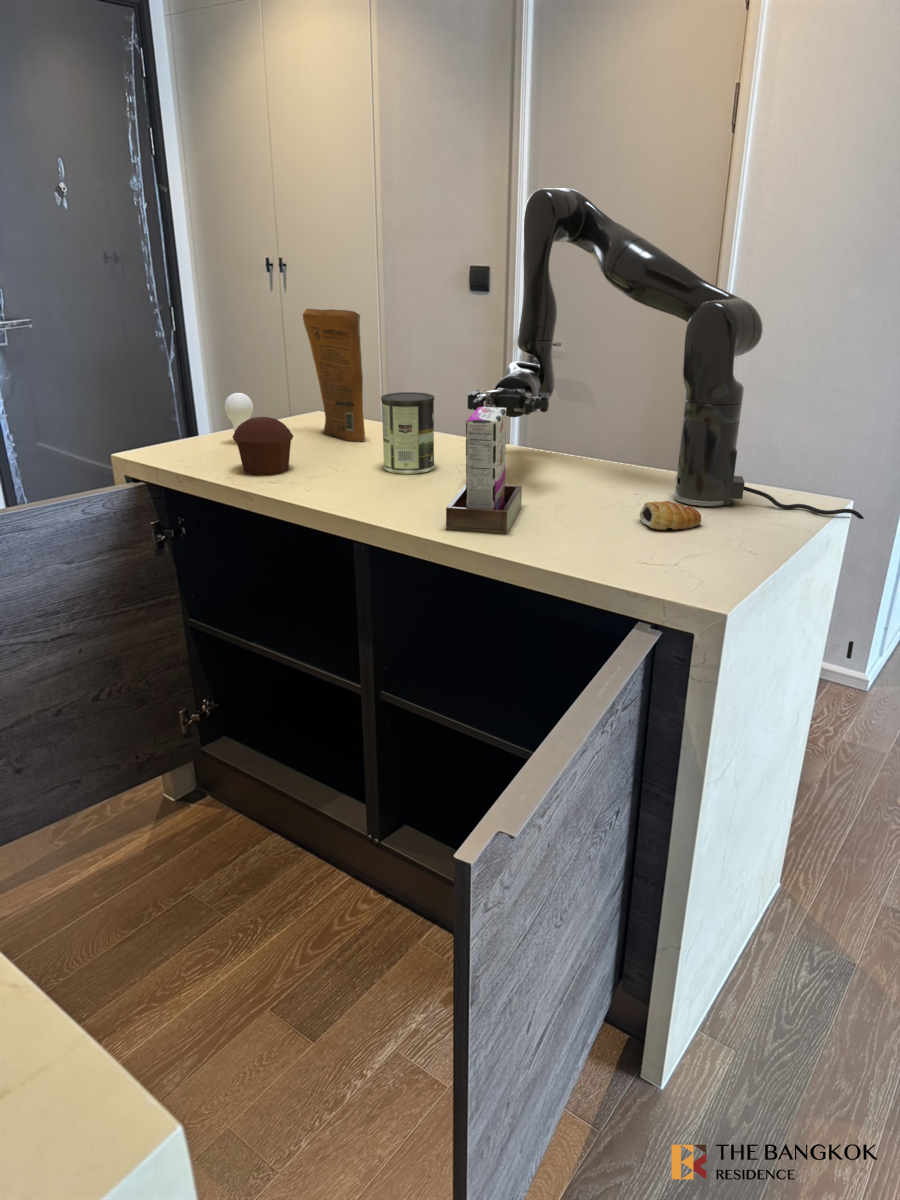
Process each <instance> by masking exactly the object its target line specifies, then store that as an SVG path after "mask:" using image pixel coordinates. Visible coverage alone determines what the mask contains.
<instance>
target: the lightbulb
mask: <svg viewBox="0 0 900 1200" xmlns="http://www.w3.org/2000/svg"><path fill="white" fill-rule="evenodd" d="M224 411H225V414H226V415H227V417H228V419H229V420H230V422H231V424H232V429H233V432H235V430H236V429H237V427H238V426H239V425H240V424H242V423H243V422H245V421H246V420H248V419H251V418H252V417H251V416H252V414H253V411H254V404H253V400H252V399H251V398H250V397H249V395H247V394H245V393H242V392H233V393H231V394H230V395H228V396H227V397H226V399H225V401H224Z"/></svg>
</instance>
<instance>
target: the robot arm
mask: <svg viewBox="0 0 900 1200" xmlns="http://www.w3.org/2000/svg"><path fill="white" fill-rule="evenodd" d="M523 212H524V213H523V225H522V227H523V228H522V229H523V230H522V231H523V233H522V235H523V238H522V240H523V241H522V242H523V243H522V244H523V247H522V248H523V256H522V257H523V263H522V264H523V297H522V307H521V314H520V322H519V330H518V336H517V347H518V349H519V350H520V351H522V352H523V353H526V354H528V355H530V356H532V357H534V358H535V359H536V360H537V362H538V364H537V363H531V362H527V361H519V360H516V361H512V362H510V363H509V364H508V365H507V367H506V369H505V371H504V375H503V378H502V379H501V380H499V381H498V382H497V384H496V385H495V387H494V389H493V390H487V391H486V392H485V393H484V394H483V392H482V390H480V389H476V390H473V391H471V392H470V393H468V394H467V410H471V411H472V410H473V411H476V410H477V408H478V407H496V408H497V407H500V408H506V417H510V418H519V417H522V416H524V415H526V416H530V415H531V413H537V412H538V410H539V411H540V412H541V413H546V412H548V411H549V408H550V397H551V396H552V394H553V393H554V390H555V386H556V378H555V368H554V361H553V346H554V339H555V338H554V337H555V332H556V325H557V318H558V303H557V298H556V294H555V291H554V286H553V283H552V279H551V272H550V258H551V254H552V248H553V244H554V243H568V244H572V245H574V246H576V247H578V248H580V249H581V250H583V251H585V252H586V253H588V254H589V255H591V257H593V258H594V259H595V260H596V263H597V266H598V268H599V271H600V272H601V275H602V276H603V278H604V279H605V280H606V282H608V284H610V285H611V286H612V287H613V288H614V289H616V290H617V291H619V292H620V293H622V295H625V296H626V297H627V298H629V299H630V300H632V301H634V302H636V303H638V304H640V305H643V306H645V307H648V308H650V309H653V310H656V311H659V312H662V313H665V314H667V315H671V316H673V317H675V318H678V319H681V320H683V321H685V322H686V323H687V324H686V329H685V336H684V350H683V363H682V364H683V365H682V380H683V385H684V387H685V399H684V407H683V418H682V425H681V426H682V427H681V436H680V445H679V453H678V454H679V455H678V463H677V472H676V475H675V477H674V482H675V488H674V489H675V490H674V495H673V498H674V499H675V500H676V501H677V502H679V503H681V504H686V505H688V506H689V505H690V506H696V507H723V506H727V507H728V506H729V507H730V506H731V502H732V500H733V499H735V500H743V497H744V491H745V492H748V493H751V494H755V495H757V496H759V497H763V498H765V499H767V500H768V501H769V502H771V504H773V505H774V506H775V507H777V508H780V509H782V510H783V509H784V510H792V509H803V510H807V511H810V512H812V513H815V514H819V515H825V516H829V515H830V516H831V515H839V514H851V515H853V516H855V517H856V518H857V519H859V520H860V519H861V520H864V519H865V517H864V516H863V515H862V514H861V513H860V512H859V511H857V510H855V509H852V508H839V509H838V508H837V509H831V510H825V509H821V508H817V507H814V506H812V505H809V504H806V503H805V504H804V503H793V504H783V503H780V502H779V501H778V500H776V499H775V498H774V497H773V496H772V495H770V494H768V493H766V492H764V491H761V490H758V489H755V488H751V487H749V486H745V484H746V483H745V479H744V477H743V475H742V476H741V475H735V471H736V464H737V456H738V450H737V446H738V445H737V444H738V438H739V437H738V436H739V429H740V423H741V414H742V408H743V406H742V405H743V402H744V401H743V400H744V394H745V393H744V390H745V388H744V385H743V384H742V383H741V382H740V381H739V380H737V379H736V378H735V374H734V365H735V358H737V357H740V356H743V355H745V354H747V353H749V352H752V350H753V349H755V348H756V347H757V345H758V344H759V343H760V341H761V339H762V335H763V322H762V318H761V315H760V314H759V312H758V310H757V309H756V307H755V306H754V305H752V304H751V302H749V301H747V300H746V299H743V298H741V297H740V296H738V295H735V294H732V293H730V292H728V291H726V290H724V289H723V288H721V287H717V285H714V284H712V283H710V282H708V281H707V280H706V279H704V278H702V277H701V276H699V275H698V274H696V273H695V272H693V271H692V270H691V269H690V268H688V267H687V266H686V265H684V264H682V263H681V262H679V261H678V260H676V259H675V258H674V257H672V256H671V255H669V254H668V253H667V252H665V251H664V250H663V249H661V248H659V247H658V246H656V245H655V244H654V243H652V242H650V241H649V240H647V239H646V238H644V237H642V236H641V235H639V234H637V233H635V232H634V231H632V230H631V229H630V228H627V227H626V226H624V225H623V224H621V223H619V222H618V221H616V220H614V219H612V218H611V217H609V216H608V215H607V214H605V212H603V210H601V209H600V208H599V207H597V206H596V205H595V204H594V203H593V202H592V201H591V200H590V199H589V198H587V196H585V195H584V194H583V193H581V192H580V191H577V189H572V188H567V187H563V188H560V187H556V188H555V187H554V188H553V187H551V188H550V187H549V188H540V189H536V190H535V191H534V192H533V193H531V195H530V196H529V197H528V199H527V201H526V205H525V207H524V211H523ZM853 648H854V641H852V640H849V641H848V645H847V652H846V659H852V654H853Z"/></svg>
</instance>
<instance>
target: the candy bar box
mask: <svg viewBox="0 0 900 1200" xmlns="http://www.w3.org/2000/svg"><path fill="white" fill-rule="evenodd" d="M506 446H507V416H506V408H500V407H497V408H496V407H494V406H493V407H478V408H477V410H474V411H473V412H472V414H471V415H470V416H469V417H468V418H467V419H466V420H465V472H466V473H465V484H466V508H478V509H493V510H502V508H503V506H504V504H505V485H506V451H507V450H506V449H507V447H506Z"/></svg>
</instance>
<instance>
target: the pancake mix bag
mask: <svg viewBox="0 0 900 1200" xmlns="http://www.w3.org/2000/svg"><path fill="white" fill-rule="evenodd" d="M302 321H303V326H304V328H305V332H306V334H307V337H308V341H309V346H310V350H311V355H312V356H311V357H312V359H313V363H314V367H315V371H316V375H317V381H318V386H319V390H320V395H321V400H322V405H323V412H324V417H325V420H324V427H323V432H322V433H323V434H324V435H328V436H331V437H334V438H338V439H342V440H343V441H344V440H345V441H348V442H366V431H365V420H364V419H365V418H364V408H363V407H364V403H363V399H364V398H363V394H364V391H363V389H364V388H363V386H364V385H363V383H364V380H363V379H364V377H363V376H364V375H363V366H362V363H363V362H362V346H361V325H360V323H361V314H359V313H357V312H355V311H354V310H347V309H331V308H330V309H318V308H306V309H305V310H304V312H302Z"/></svg>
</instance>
